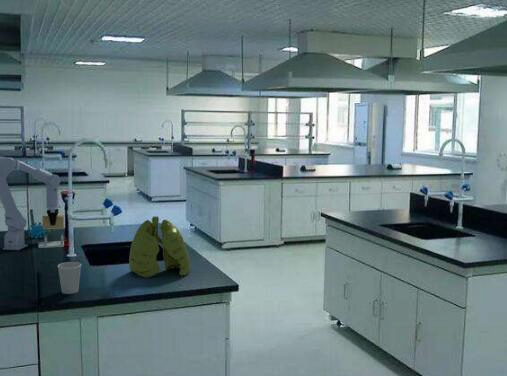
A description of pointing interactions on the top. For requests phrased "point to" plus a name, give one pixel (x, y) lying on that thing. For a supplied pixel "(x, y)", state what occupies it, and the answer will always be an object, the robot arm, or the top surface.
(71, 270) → the dixie cup
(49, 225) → the tan rectangular block
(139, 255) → the lungs
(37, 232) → the blue spiky piece
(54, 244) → the tray
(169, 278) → the top surface
